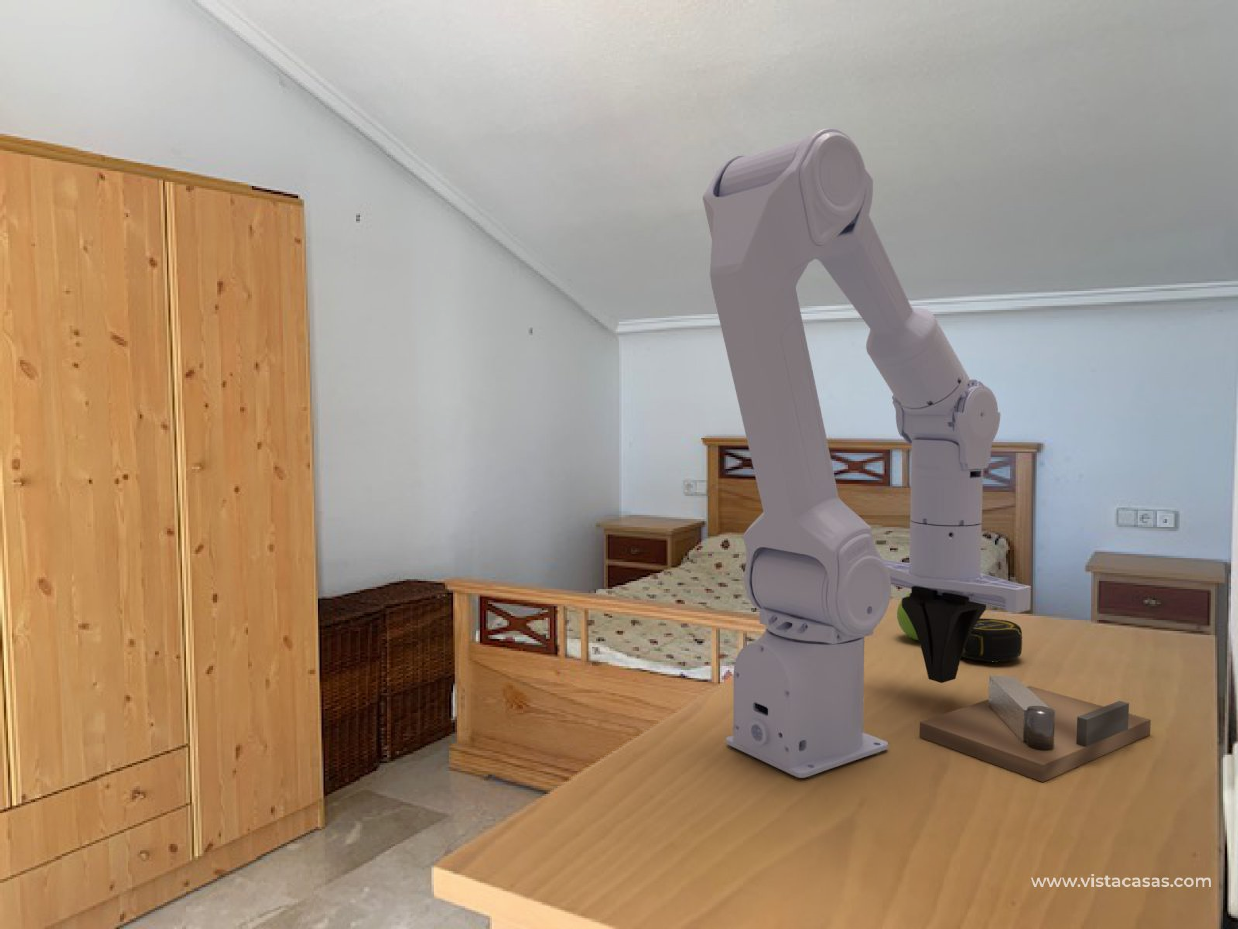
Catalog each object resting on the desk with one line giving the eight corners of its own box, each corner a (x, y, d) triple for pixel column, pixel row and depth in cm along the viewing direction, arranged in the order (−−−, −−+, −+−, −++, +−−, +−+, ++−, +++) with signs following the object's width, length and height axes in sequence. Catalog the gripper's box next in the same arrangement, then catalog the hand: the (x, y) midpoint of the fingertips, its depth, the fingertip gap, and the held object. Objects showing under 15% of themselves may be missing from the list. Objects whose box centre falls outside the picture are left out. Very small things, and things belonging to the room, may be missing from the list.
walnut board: (1042, 782, 61) (1044, 736, 61) (919, 737, 70) (920, 696, 69) (1150, 734, 70) (1151, 694, 70) (1028, 699, 78) (1030, 663, 78)
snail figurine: (956, 636, 99) (959, 527, 98) (943, 650, 93) (945, 535, 93) (906, 629, 102) (908, 524, 101) (890, 642, 96) (892, 531, 95)
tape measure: (984, 646, 95) (984, 612, 95) (1037, 664, 89) (1038, 626, 89) (933, 654, 93) (934, 618, 92) (985, 672, 86) (986, 634, 86)
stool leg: (1059, 750, 64) (1060, 714, 64) (1030, 749, 64) (1031, 714, 64) (1014, 705, 73) (1014, 674, 73) (988, 704, 73) (989, 673, 73)
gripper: (1054, 527, 72) (1048, 692, 73) (904, 509, 84) (902, 651, 85) (1003, 535, 68) (998, 710, 69) (854, 515, 80) (851, 664, 81)
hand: (941, 679), depth 77 cm, fingers closed
